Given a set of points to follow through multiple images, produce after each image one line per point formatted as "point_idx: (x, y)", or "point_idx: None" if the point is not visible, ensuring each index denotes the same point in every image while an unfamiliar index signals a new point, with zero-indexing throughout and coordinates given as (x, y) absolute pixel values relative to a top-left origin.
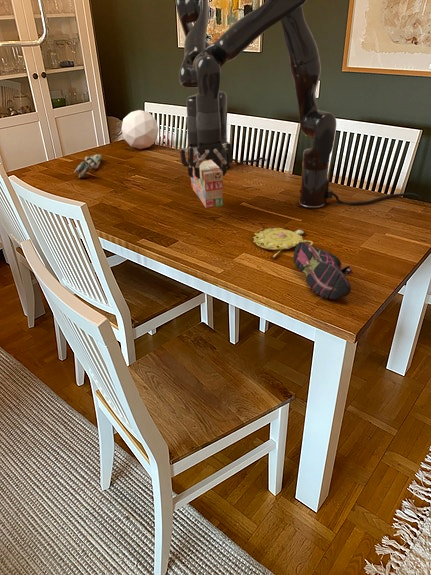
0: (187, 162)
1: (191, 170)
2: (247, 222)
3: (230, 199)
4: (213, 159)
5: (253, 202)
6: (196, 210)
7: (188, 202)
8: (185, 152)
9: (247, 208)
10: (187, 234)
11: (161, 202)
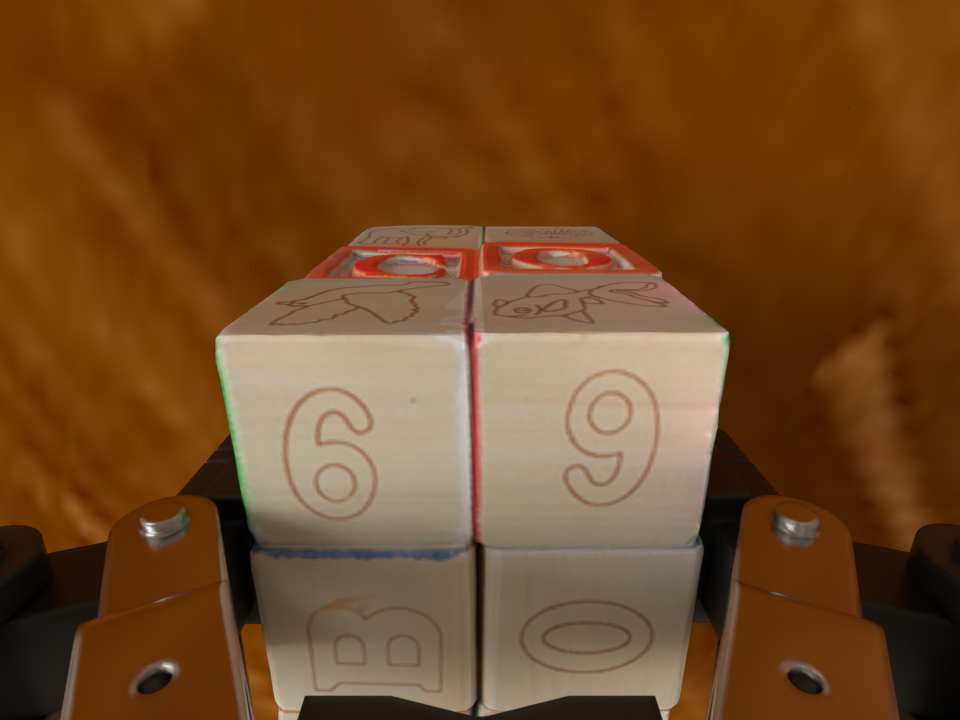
0: (91, 617)
1: None
2: (696, 670)
3: (805, 214)
4: (912, 690)
5: (952, 364)
6: None
7: (372, 135)
8: None
9: (828, 465)
10: (267, 704)
11: (72, 16)
